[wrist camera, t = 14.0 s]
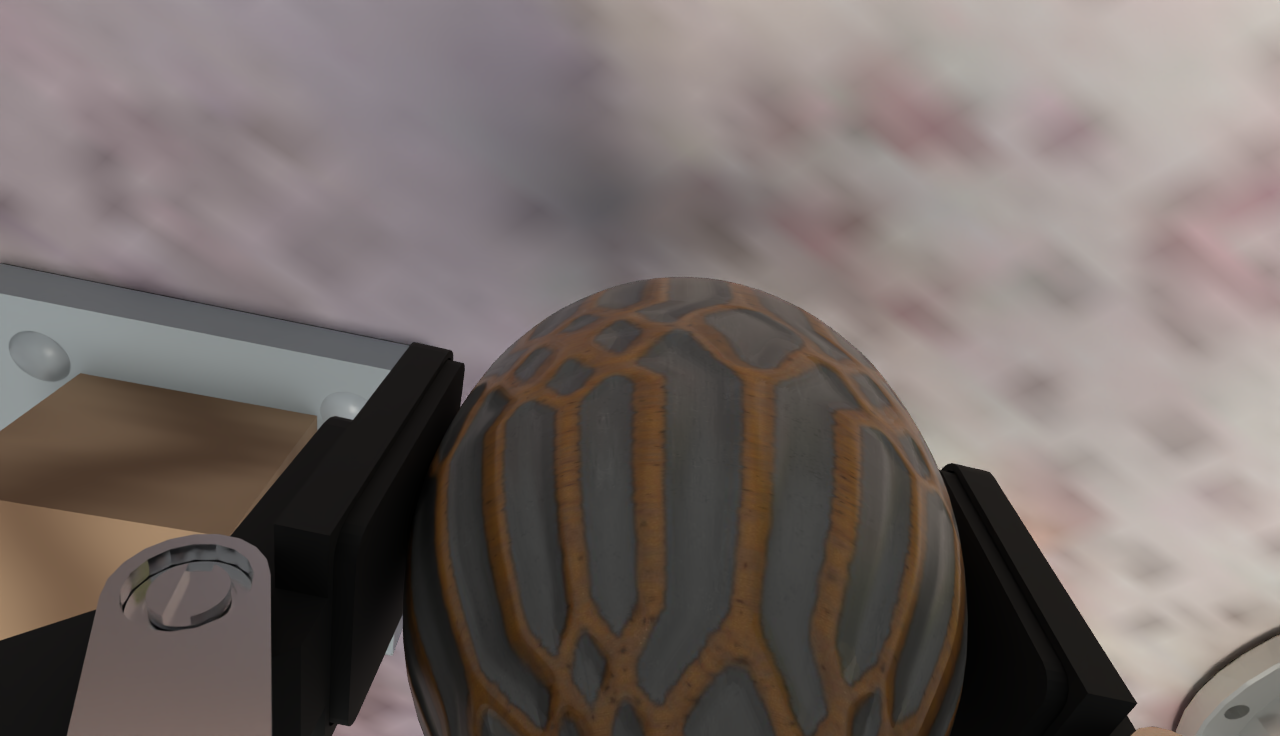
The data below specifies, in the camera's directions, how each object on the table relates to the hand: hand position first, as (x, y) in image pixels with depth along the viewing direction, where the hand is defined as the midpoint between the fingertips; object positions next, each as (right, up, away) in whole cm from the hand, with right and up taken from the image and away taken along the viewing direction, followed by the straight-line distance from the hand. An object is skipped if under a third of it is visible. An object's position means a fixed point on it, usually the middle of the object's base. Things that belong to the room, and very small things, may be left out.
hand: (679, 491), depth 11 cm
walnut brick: (-14, -2, +12) cm, 18 cm away
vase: (0, +1, +2) cm, 3 cm away
